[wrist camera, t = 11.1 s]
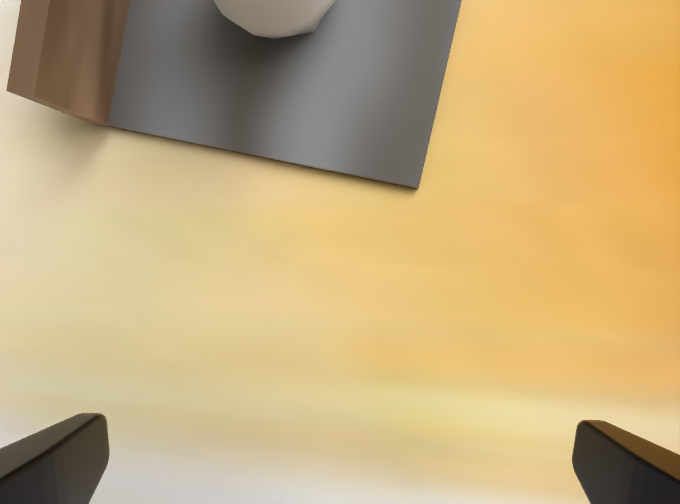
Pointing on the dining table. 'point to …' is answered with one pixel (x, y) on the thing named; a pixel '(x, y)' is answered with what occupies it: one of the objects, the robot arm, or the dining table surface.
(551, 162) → the dining table surface
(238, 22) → the salt shaker
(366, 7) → the corner tray
